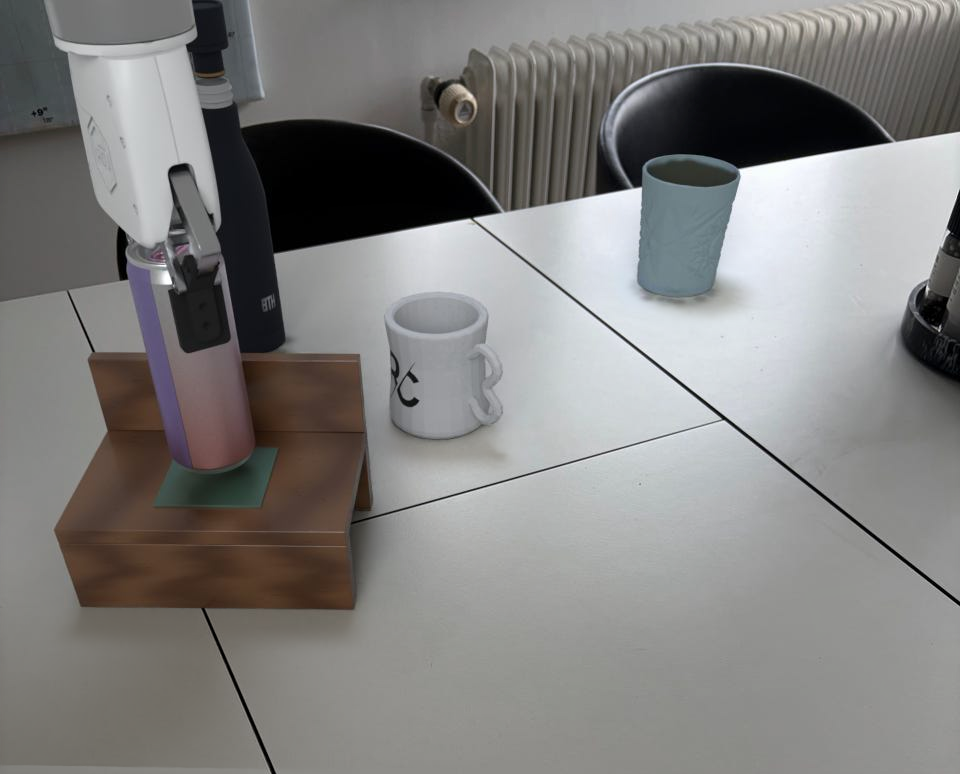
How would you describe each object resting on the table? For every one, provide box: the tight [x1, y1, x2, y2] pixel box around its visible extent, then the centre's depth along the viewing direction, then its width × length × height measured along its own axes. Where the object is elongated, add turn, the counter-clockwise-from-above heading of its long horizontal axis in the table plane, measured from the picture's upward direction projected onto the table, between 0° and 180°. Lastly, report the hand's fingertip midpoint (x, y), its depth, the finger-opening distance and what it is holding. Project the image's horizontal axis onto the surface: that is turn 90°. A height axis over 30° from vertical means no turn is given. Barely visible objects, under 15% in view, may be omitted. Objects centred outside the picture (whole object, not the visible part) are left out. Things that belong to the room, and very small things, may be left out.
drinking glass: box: [636, 153, 742, 298], centre depth 113 cm, size 10×10×12 cm
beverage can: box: [125, 228, 255, 474], centre depth 69 cm, size 6×6×15 cm
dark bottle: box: [185, 0, 286, 353], centre depth 96 cm, size 6×6×30 cm
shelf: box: [53, 351, 374, 611], centre depth 76 cm, size 20×14×13 cm
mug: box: [383, 291, 504, 440], centre depth 91 cm, size 12×9×10 cm
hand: (186, 323), depth 68 cm, fingers closed on beverage can, 6 cm apart
